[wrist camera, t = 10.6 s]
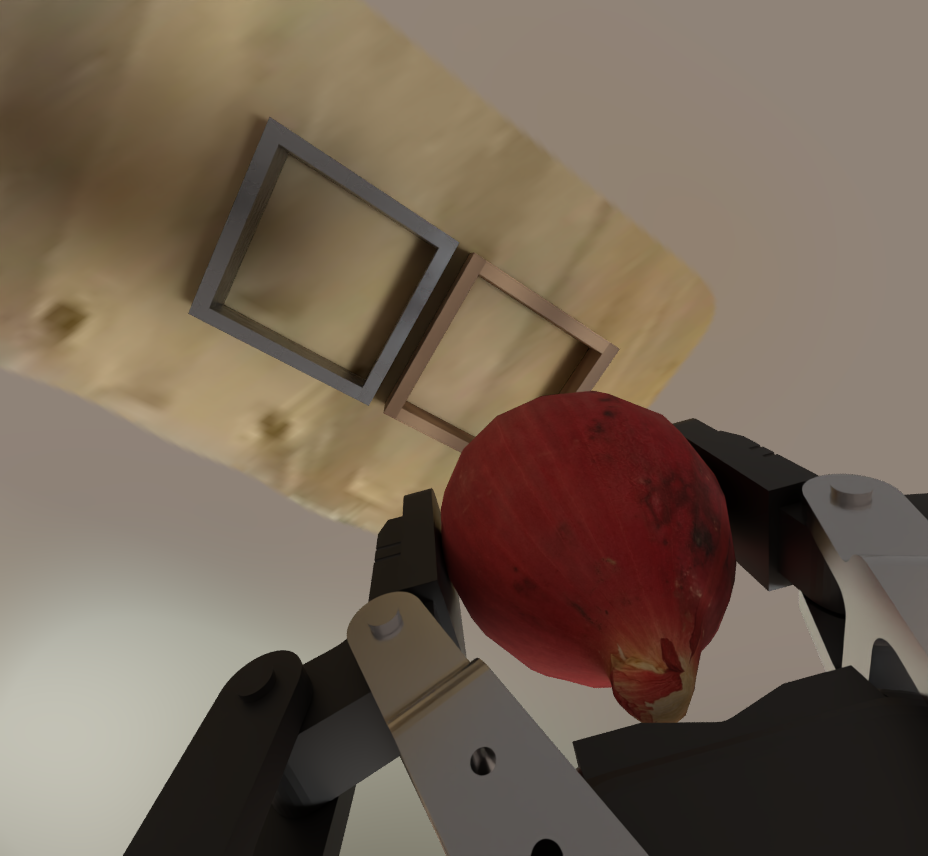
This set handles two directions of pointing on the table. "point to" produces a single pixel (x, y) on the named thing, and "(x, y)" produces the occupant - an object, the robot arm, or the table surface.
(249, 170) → the grey frame
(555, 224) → the table surface
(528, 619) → the pomegranate
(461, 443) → the walnut frame
